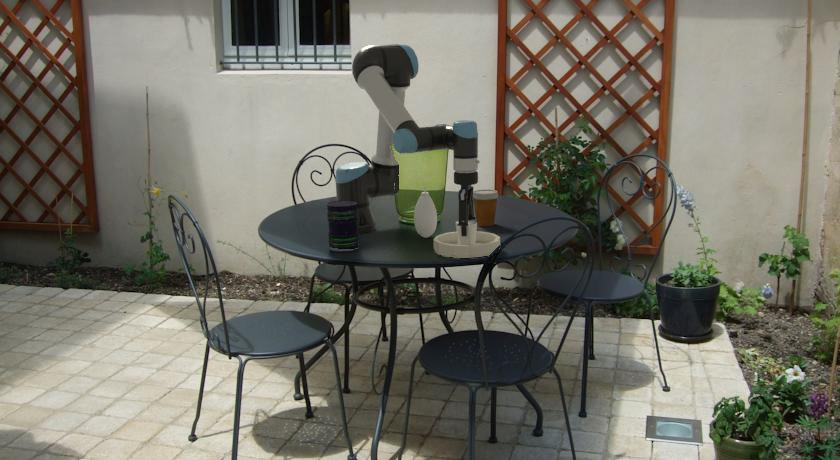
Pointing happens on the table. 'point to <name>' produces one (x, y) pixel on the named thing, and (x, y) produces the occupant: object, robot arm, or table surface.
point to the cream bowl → (450, 248)
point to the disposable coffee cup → (485, 206)
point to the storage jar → (343, 224)
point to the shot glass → (471, 232)
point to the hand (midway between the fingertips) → (466, 243)
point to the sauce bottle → (425, 215)
